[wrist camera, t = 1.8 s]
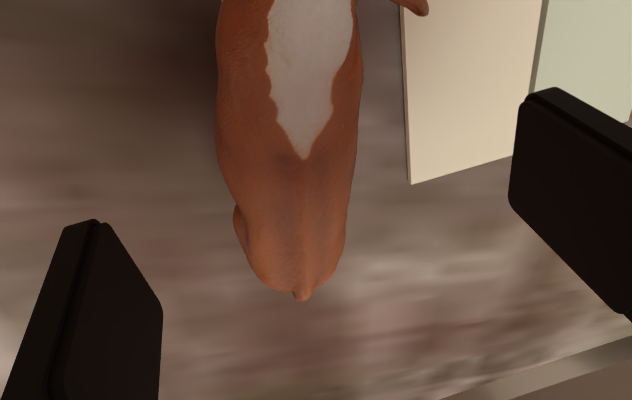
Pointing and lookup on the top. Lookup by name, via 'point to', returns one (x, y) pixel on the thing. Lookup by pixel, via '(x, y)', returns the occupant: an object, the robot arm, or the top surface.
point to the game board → (504, 72)
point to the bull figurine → (290, 131)
